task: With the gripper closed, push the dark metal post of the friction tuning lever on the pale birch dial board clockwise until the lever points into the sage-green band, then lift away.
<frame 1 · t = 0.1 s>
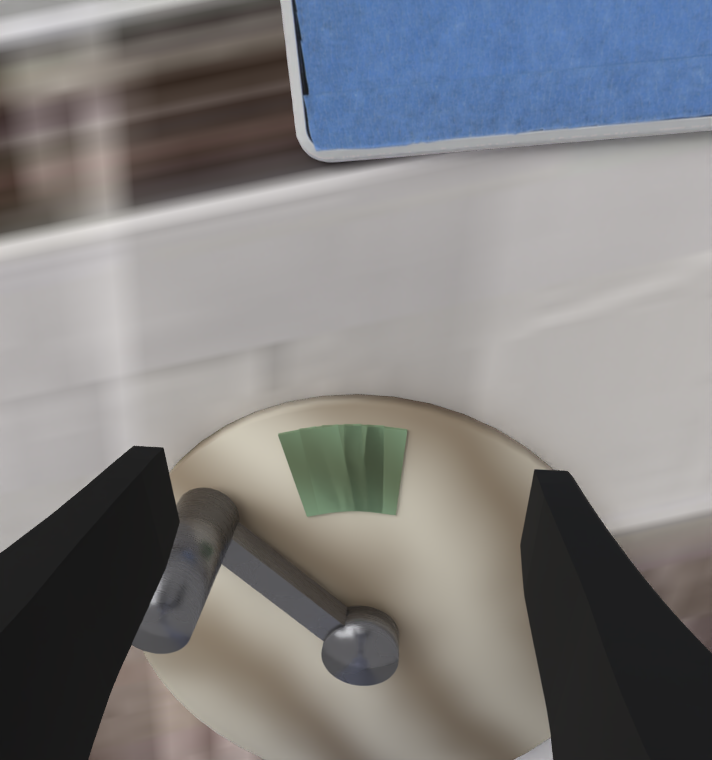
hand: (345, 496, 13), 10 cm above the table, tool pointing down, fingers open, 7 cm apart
dial board: (365, 607, 28), on the table
tuning lever: (276, 632, 23), point 4 cm above the table, hinge at 0.0°
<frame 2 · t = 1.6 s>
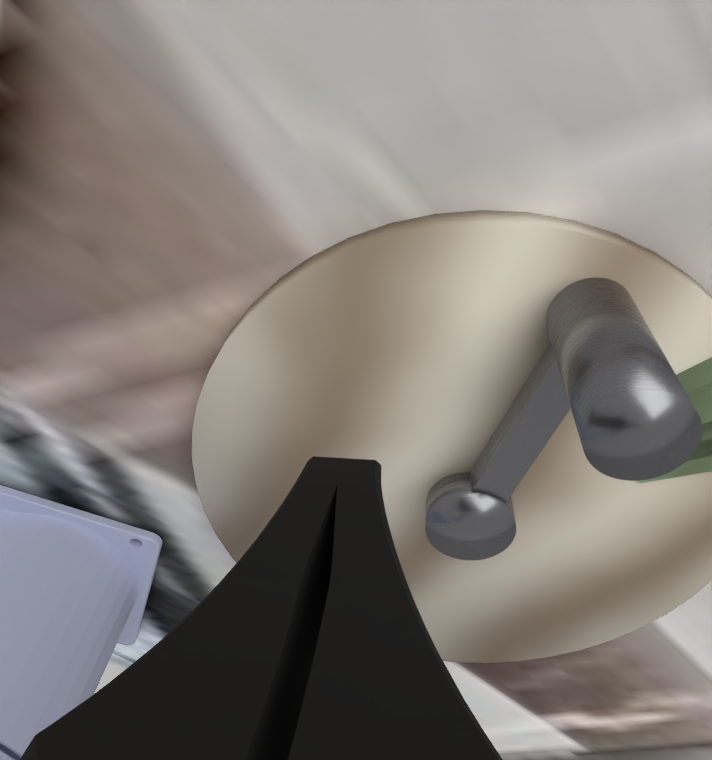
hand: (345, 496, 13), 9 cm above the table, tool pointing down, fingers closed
dial board: (466, 475, 24), on the table
tuning lever: (531, 483, 18), point 4 cm above the table, hinge at 0.0°
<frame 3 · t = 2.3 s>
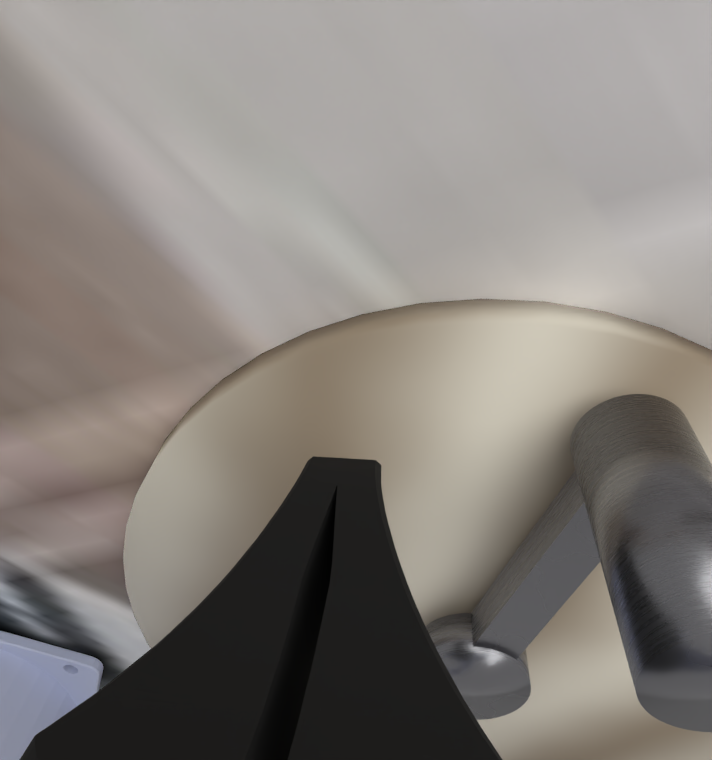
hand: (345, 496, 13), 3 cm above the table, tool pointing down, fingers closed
dial board: (467, 602, 19), on the table
tuning lever: (552, 664, 14), point 4 cm above the table, hinge at 0.0°
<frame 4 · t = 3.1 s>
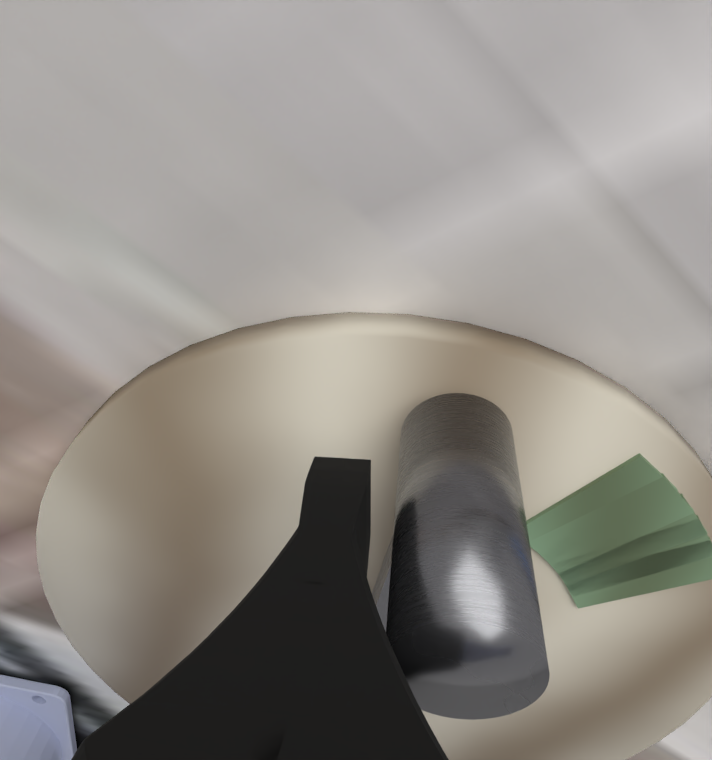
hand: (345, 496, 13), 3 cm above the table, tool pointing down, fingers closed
dial board: (378, 604, 20), on the table
tuning lever: (403, 661, 14), point 4 cm above the table, hinge at -1.7°, touching gripper
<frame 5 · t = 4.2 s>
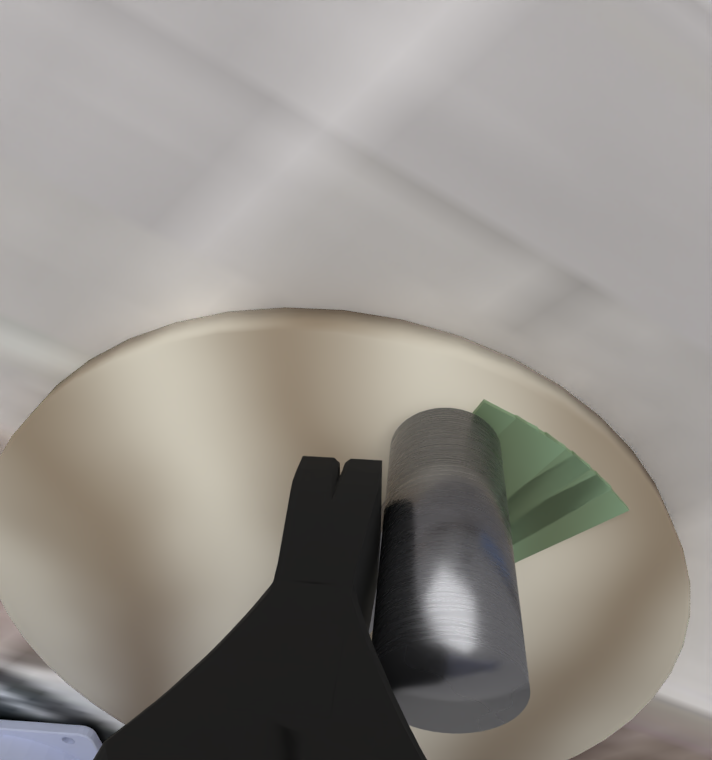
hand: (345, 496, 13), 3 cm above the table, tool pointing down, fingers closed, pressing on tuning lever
dial board: (327, 599, 20), on the table
tuning lever: (361, 663, 14), point 4 cm above the table, hinge at -26.1°, touching gripper
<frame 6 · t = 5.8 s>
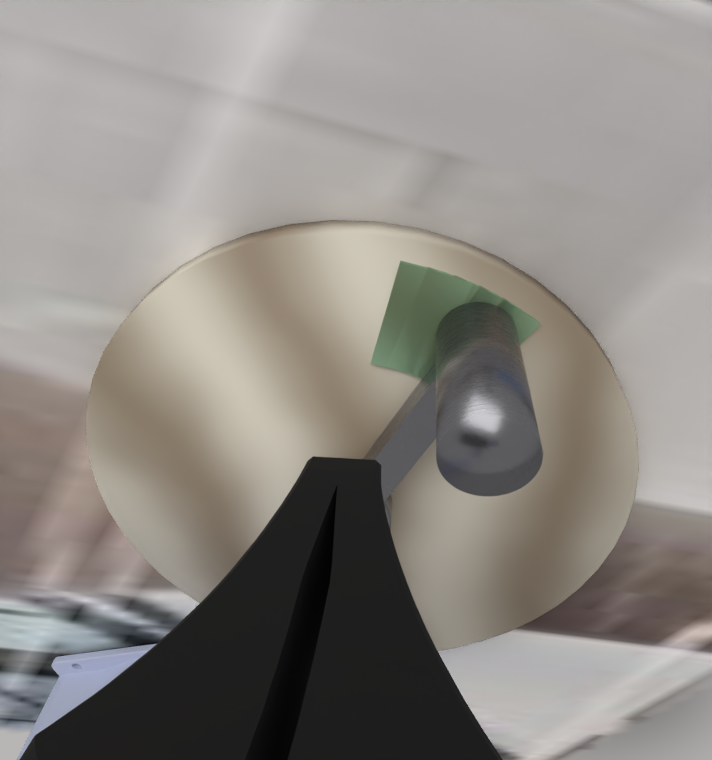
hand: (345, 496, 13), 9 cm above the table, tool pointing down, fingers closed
dial board: (355, 473, 25), on the table
tuning lever: (401, 487, 19), point 4 cm above the table, hinge at -47.1°
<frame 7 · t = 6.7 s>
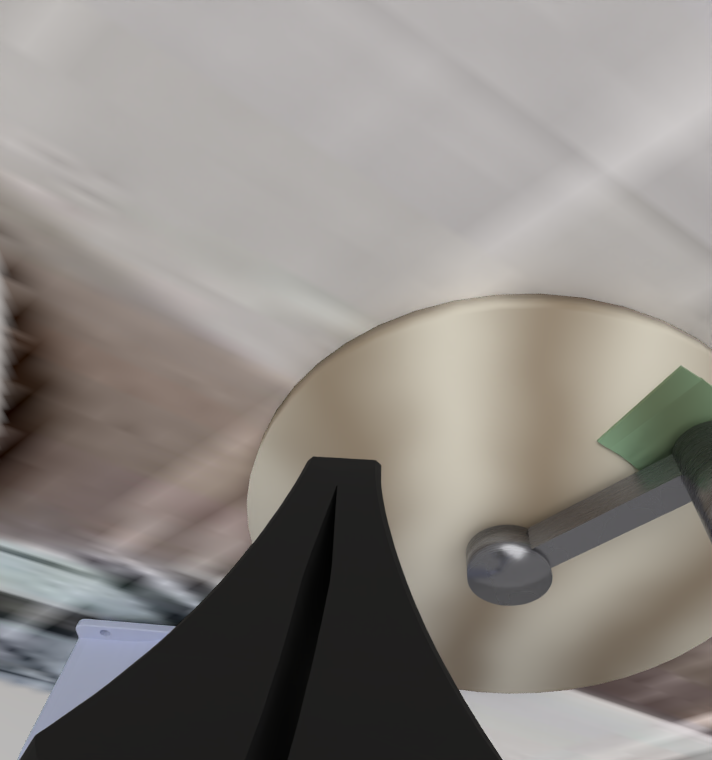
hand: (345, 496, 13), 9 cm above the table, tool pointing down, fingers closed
dial board: (502, 523, 26), on the table
tuning lever: (615, 569, 20), point 4 cm above the table, hinge at -47.1°
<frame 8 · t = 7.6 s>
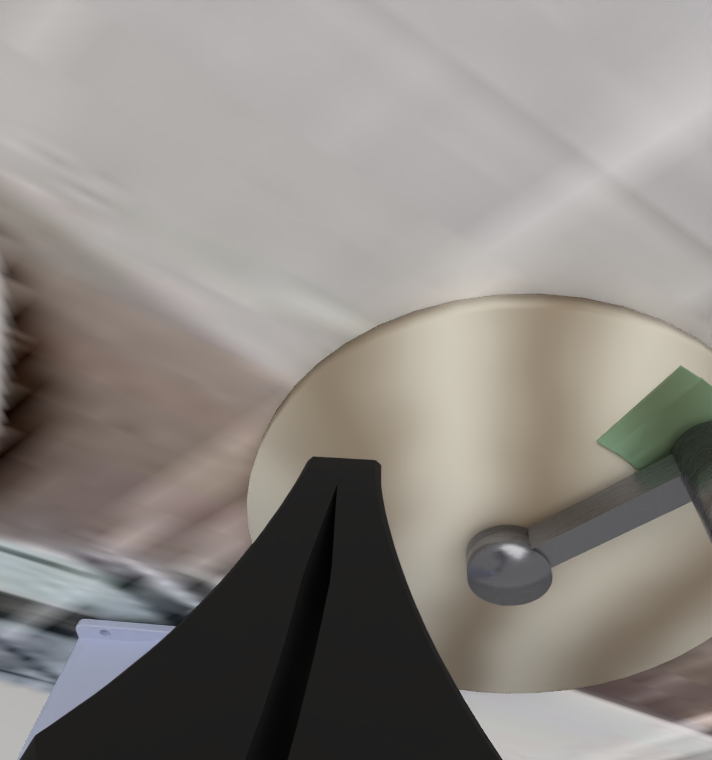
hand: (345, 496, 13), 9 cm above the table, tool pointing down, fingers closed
dial board: (502, 523, 26), on the table
tuning lever: (615, 569, 20), point 4 cm above the table, hinge at -47.1°
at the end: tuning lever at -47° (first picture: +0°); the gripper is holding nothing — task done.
